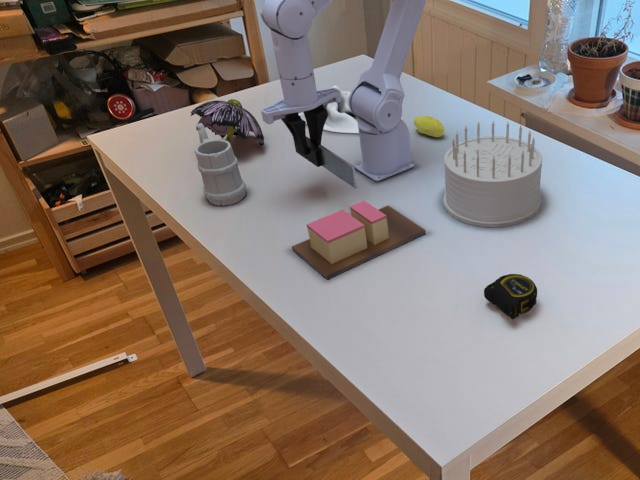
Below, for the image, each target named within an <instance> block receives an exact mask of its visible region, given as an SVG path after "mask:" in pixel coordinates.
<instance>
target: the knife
mask: <svg viewBox="0 0 640 480" xmlns="http://www.w3.org/2000/svg"><path fill="white" fill-rule="evenodd" d="M292 139H293V144H294V148H295V149H294V150H295V153H297V154H298V155H299V156H301V157H302V158H303V159H305V160H307V161H308V162H310V163H311V164H312V165H313V166H315V167H317V168H320V167H322V168H324V169H325V170H327V171H328V172H330V173H332V174H333V175H334V176H336V177H337V178H339V179H340V180H342V181H343V182H345V183H346V184H347V185H349V186H350V187H351V188H353V189H355V190H356V189H358V184H357V175H356V168H355V167H354V166H355V165H353V164H351V163H350V162H348V161H347V160H345V159H343V158H342V157H341V156H339V155H337V154H336V153H334V151H331V150H330V149H328V148H327V147H325V146H324V145H322V143H321V144H320V145H319V144H317V143H316V142H314V141H313V140H311V139H310V137H308V136H307V135H306V141H307V146H308V155H304V154H302V153H301V152H300V151H299V148H298V146H297V144H296V141H295V139H294V137H293V136H292Z"/></svg>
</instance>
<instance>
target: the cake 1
mask: <svg viewBox="0 0 640 480" xmlns="http://www.w3.org/2000/svg"><path fill="white" fill-rule="evenodd" d="M306 228H307V232H308V233H307V234H308V238H309V239H310V243H311V248H313V249H314V250H315V251H316V252H317V253H319V254H320V255H321V256H322V257H324V258H325V259H326V260H327V261H328V262H330V263H331V264H334V263H336V262H338V261H340V260H343V259H345V258H347V257H349V256H351V255H354V254H356V253H358V252H360V251H362V250H365V249H367V241H366V234H365V226H364V224H362V223H361V222H359V221H358V220H357V219H355V218H354V217H352V216H351V213H348V212H347V211H345V210H344V209H341V210H338V211H336V212H333V213H331V214H329V215H326V216H323V217H321V218H319V219H316V220H314V221H311V222H309V223H307V224H306Z"/></svg>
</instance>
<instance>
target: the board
mask: <svg viewBox="0 0 640 480" xmlns="http://www.w3.org/2000/svg"><path fill="white" fill-rule="evenodd" d="M378 210H379V211H381V212H382V213H384V214H385V215H386V216H387V225H388V235H389V239H387V240H385V241H382V242H380V243H378V244H376V245H374V244H372V243H371V242H370V241H368V240H367V239H366V241H367V249H365V250H362V251H360V252H358V253H356V254H354V255H351V256H349V257H347V258H345V259H343V260H340V261H338V262H336V263H334V264H331V263H330V262H328V261H327V260H326V259H325V258H324V257H322V256H321V255H320V254H319V253H317V252H316V251H315V250H314V249H313V248H311V243H310V238H309V239H306V240H304V241H301V242H299V243H297V244H294V245H292V246H291V251H293V252H294V253H295V254H296V255H298V256H299V257H300V258H301V259H302V260H303V261H304V262H306V263H307V264H308V265H309V266H310V267H311V268H313V269H314V270H315V271H316V272H317V273H318V274H319V275H321V276H322V277H323V278H325V280H329V279H331V278H334V277H336V276H339V275H341V274H342V273H344V272H346V271H349V270H350V269H353V268H356V267H357V266H360V265H362V264H364V263H366V262H368V261H370V260H372V259H375V258H377V257H379V256H381V255H383V254H385V253H388V252H389V251H391V250H394V249H396V248H398V247H401V246H403V245H405V244H407V243H409V242H411V241H413V240H416V239H418V238H420V237H422V236H425V235H426V229H425V228H423V227H422V226H420V225H418V224H417V223H415V222H414V221H413V220H411V219H409V218H408V217H406V216H405V215H403V214H402V213H400V211H397V210H396V209H395V208H393V207H391V206H390V205H386V206H384V207H381V208H378Z"/></svg>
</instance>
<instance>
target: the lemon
mask: <svg viewBox="0 0 640 480" xmlns="http://www.w3.org/2000/svg"><path fill="white" fill-rule="evenodd" d="M413 124H414V126H415V127H416V130H417V131H418V132H419V133H420V134H424V135H427V136H429V137H434V138H441V137H442V136H443V135H444V133H445V127H444V125H443V123H442V122H441V121H440V120H439V119H437V118H435V117H433V116H431V115H430V116H428V115H419V116H416V117H415V118H414V120H413Z"/></svg>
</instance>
